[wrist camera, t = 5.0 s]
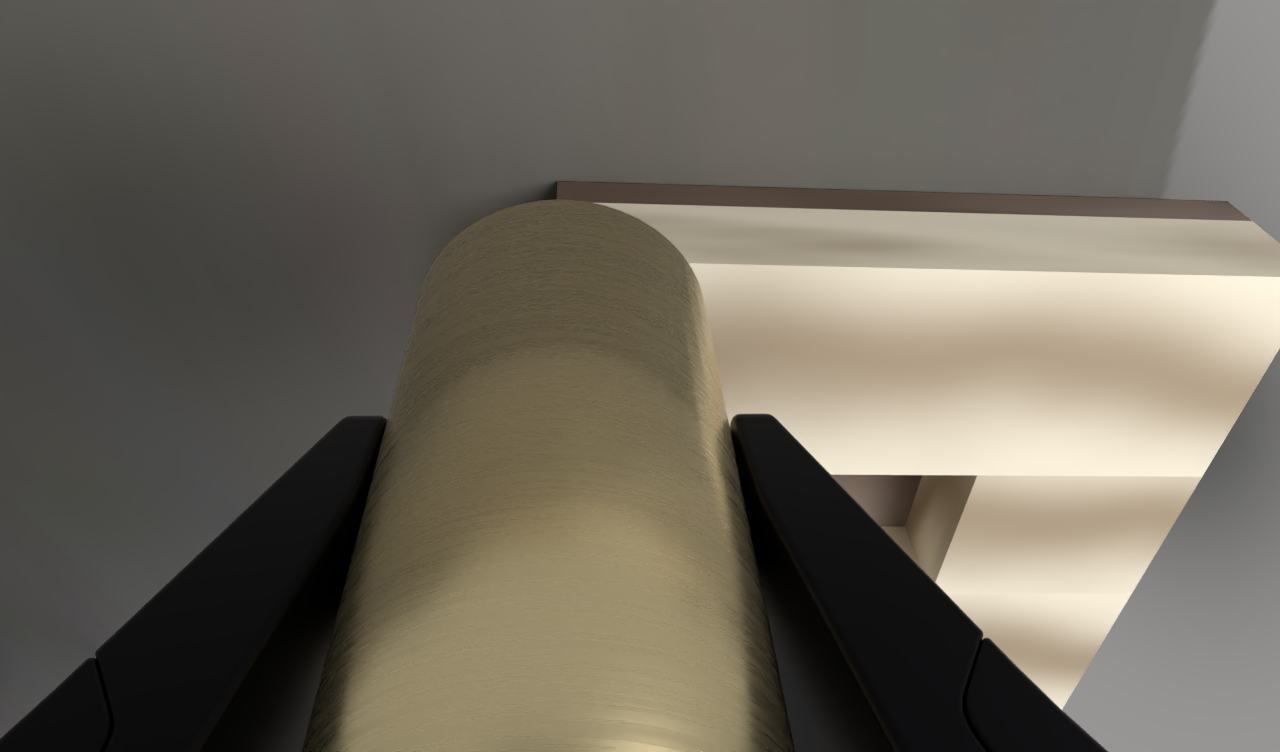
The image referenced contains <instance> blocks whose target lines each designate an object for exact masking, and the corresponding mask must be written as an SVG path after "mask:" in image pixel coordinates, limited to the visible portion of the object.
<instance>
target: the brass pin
mask: <svg viewBox="0 0 1280 752" xmlns="http://www.w3.org/2000/svg"><path fill="white" fill-rule="evenodd" d="M302 752H795V748H794V743H793V738H792V733H791V729H790V724H789V719H788V714H787V709H786V704H785V699H784V694H783V689H782V684H781V679H780V674H779V669H778V664H777V659H776V654H775V649H774V644H773V639H772V634H771V629H770V624H769V619H768V614H767V609H766V604H765V599H764V595H763V590H762V585H761V580H760V575H759V570H758V565H757V560H756V555H755V550H754V545H753V540H752V535H751V530H750V525H749V520H748V515H747V510H746V505H745V500H744V495H743V490H742V485H741V480H740V475H739V470H738V465H737V461H736V456H735V451H734V446H733V441H732V436H731V431H730V426H729V421H728V416H727V411H726V406H725V401H724V396H723V391H722V386H721V381H720V376H719V371H718V366H717V361H716V356H715V351H714V346H713V341H712V336H711V331H710V327H709V322H708V317H707V312H706V307H705V302H704V298H703V294H702V291H701V288H700V284H699V282H698V280H697V278H696V276H695V274H694V272H693V270H692V268H691V266H690V265H689V263H688V262H687V261H686V259H685V258H684V256H683V255H682V254H681V252H680V251H679V250H678V249H677V248H676V247H675V246H674V245H673V244H672V243H671V242H670V241H669V240H668V239H667V238H666V237H664V236H663V235H662V234H661V233H660V232H658V231H657V230H656V229H654V228H653V227H651V226H650V225H648V224H646V223H645V222H643V221H642V220H640V219H638V218H636V217H634V216H632V215H629V214H627V213H625V212H623V211H620V210H617V209H614V208H611V207H608V206H605V205H601V204H596V203H591V202H585V201H577V200H562V199H559V200H540V201H534V202H528V203H523V204H518V205H515V206H511V207H508V208H505V209H502V210H499V211H497V212H494V213H492V214H490V215H488V216H485V217H483V218H481V219H480V220H478V221H476V222H475V223H473V224H472V225H470V226H468V227H467V228H465V229H464V230H463V231H462V232H460V233H459V234H458V235H457V236H456V237H454V238H453V239H452V240H451V241H450V242H449V243H448V244H447V245H446V247H445V248H444V249H443V250H442V251H441V252H440V253H439V255H438V256H437V258H436V259H435V261H434V262H433V264H432V265H431V267H430V269H429V271H428V273H427V275H426V277H425V279H424V282H423V285H422V288H421V292H420V296H419V299H418V303H417V307H416V311H415V315H414V319H413V322H412V326H411V330H410V334H409V338H408V342H407V346H406V349H405V353H404V357H403V361H402V365H401V369H400V373H399V377H398V380H397V384H396V388H395V392H394V396H393V400H392V404H391V408H390V411H389V415H388V419H387V423H386V427H385V431H384V435H383V438H382V442H381V446H380V450H379V454H378V458H377V462H376V466H375V469H374V473H373V477H372V481H371V485H370V489H369V493H368V496H367V500H366V504H365V508H364V512H363V516H362V520H361V524H360V527H359V531H358V535H357V539H356V543H355V547H354V551H353V555H352V558H351V562H350V566H349V570H348V574H347V578H346V582H345V585H344V589H343V593H342V597H341V601H340V605H339V609H338V613H337V616H336V620H335V624H334V628H333V632H332V636H331V640H330V643H329V647H328V651H327V655H326V659H325V663H324V667H323V671H322V674H321V678H320V682H319V686H318V690H317V694H316V698H315V702H314V705H313V709H312V713H311V717H310V721H309V725H308V729H307V732H306V736H305V740H304V744H303V748H302Z"/></svg>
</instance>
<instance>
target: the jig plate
mask: <svg viewBox="0 0 1280 752" xmlns="http://www.w3.org/2000/svg"><path fill="white" fill-rule="evenodd" d="M559 199H562V200H577V201H585V202H591V203H596V204H601V205H605V206H608V207H611V208H614V209H617V210H620V211H623V212H625V213H627V214H629V215H632V216H634V217H636V218H638V219H640V220H642V221H643V222H645V223H646V224H648V225H650V226H651V227H653V228H654V229H656V230H657V231H658V232H660V233H661V234H662V235H663V236H664V237H666V238H667V239H668V240H669V241H670V242H671V243H672V244H673V245H674V246H675V247H676V248H677V249H678V250H679V251H680V252H681V254H682V255H683V256H684V258H685V259H686V261H687V262H688V263H689V265H690V266H691V268H692V270H693V272H694V274H695V276H696V278H697V280H698V282H699V284H700V288H701V291H702V294H703V298H704V302H705V307H706V312H707V317H708V322H709V327H710V331H711V336H712V341H713V346H714V351H715V356H716V361H717V366H718V371H719V376H720V381H721V386H722V391H723V396H724V401H725V406H726V411H727V416H728V421H729V426H730V423H731V420H732V418H733V417H734V416H735V415H736V414H770V415H772V416H774V417H775V418H776V419H777V420H778V421H779V422H780V423H781V424H782V425H783V426H784V427H785V428H786V429H787V430H788V431H789V432H790V433H791V434H792V435H793V436H794V437H795V438H796V439H797V440H798V441H799V442H800V443H801V444H802V445H803V447H804V448H805V449H806V450H807V451H808V452H809V453H810V454H811V455H812V456H813V457H814V458H815V459H816V460H817V461H818V462H819V463H820V464H821V465H822V466H823V467H824V468H825V469H826V470H827V471H828V472H829V473H830V474H831V475H832V476H833V477H834V478H835V480H836V481H837V482H838V483H839V484H840V485H841V486H842V487H843V488H844V489H845V490H846V491H847V492H848V493H849V494H850V495H851V496H852V497H853V498H854V499H855V500H856V501H857V502H858V503H859V504H860V505H861V506H862V507H863V508H864V509H865V510H866V511H867V512H868V514H869V515H870V516H871V517H872V518H873V519H874V520H875V521H876V522H877V523H878V524H879V525H880V526H881V527H882V528H883V529H884V530H885V531H886V532H887V533H888V534H889V535H890V536H891V537H892V538H893V539H894V540H895V541H896V542H897V543H898V544H899V545H900V546H901V548H902V549H903V550H904V551H905V552H906V553H907V554H908V555H909V556H910V557H911V558H912V559H913V560H914V561H915V562H916V563H917V564H918V565H919V566H920V567H921V568H922V569H923V570H924V571H925V572H926V573H927V574H928V575H929V576H930V577H931V578H932V579H933V580H934V582H935V583H936V584H937V585H938V586H939V587H940V588H941V589H942V590H943V591H944V592H945V593H946V594H947V595H948V596H949V597H950V598H951V599H952V600H953V601H954V602H955V603H956V604H957V605H958V606H959V607H960V608H961V609H962V610H963V611H964V612H965V613H966V615H967V616H968V617H969V618H970V619H971V620H972V621H973V622H974V623H975V624H976V625H977V626H978V627H979V628H980V629H981V630H982V631H983V634H984V635H983V639H984V638H990V639H991V640H992V641H993V642H994V643H995V644H996V645H997V646H998V647H999V648H1000V649H1001V650H1002V651H1003V652H1004V653H1005V654H1006V655H1007V656H1008V657H1009V658H1010V659H1011V660H1012V661H1013V662H1014V664H1015V665H1016V666H1017V667H1018V668H1019V669H1020V670H1021V671H1023V672H1024V673H1025V674H1026V675H1027V676H1028V677H1029V678H1030V679H1031V680H1032V681H1033V682H1034V683H1035V684H1036V685H1037V686H1038V687H1039V688H1040V689H1041V690H1042V691H1043V692H1044V693H1045V694H1046V695H1047V696H1048V697H1049V698H1050V699H1051V700H1052V701H1053V702H1054V703H1055V704H1056V705H1057V706H1058V707H1059V708H1060V709H1061V710H1062V708H1063V707H1064V705H1065V703H1066V702H1067V700H1068V699H1069V697H1070V695H1071V694H1072V692H1073V690H1074V689H1075V687H1076V685H1077V684H1078V682H1079V680H1080V679H1081V677H1082V675H1083V673H1084V672H1085V670H1086V668H1087V667H1088V665H1089V664H1090V662H1091V660H1092V658H1093V657H1094V655H1095V654H1096V652H1097V650H1098V649H1099V647H1100V645H1101V644H1102V642H1103V640H1104V639H1105V637H1106V635H1107V634H1108V632H1109V630H1110V629H1111V627H1112V625H1113V623H1114V622H1115V621H1116V619H1117V617H1118V616H1119V614H1120V612H1121V611H1122V609H1123V607H1124V606H1125V604H1126V602H1127V601H1128V599H1129V597H1130V596H1131V594H1132V592H1133V591H1134V589H1135V587H1136V586H1137V584H1138V582H1139V581H1140V579H1141V577H1142V575H1143V574H1144V572H1145V571H1146V569H1147V567H1148V566H1149V564H1150V562H1151V561H1152V559H1153V557H1154V556H1155V554H1156V552H1157V551H1158V549H1159V547H1160V546H1161V544H1162V542H1163V541H1164V539H1165V537H1166V536H1167V534H1168V533H1169V531H1170V529H1171V527H1172V526H1173V524H1174V522H1175V521H1176V519H1177V518H1178V516H1179V514H1180V513H1181V511H1182V509H1183V508H1184V506H1185V504H1186V503H1187V501H1188V499H1189V497H1190V496H1191V494H1192V492H1193V491H1194V489H1195V488H1196V486H1197V484H1198V483H1199V481H1200V479H1201V478H1202V476H1203V474H1204V473H1205V471H1206V469H1207V468H1208V466H1209V464H1210V463H1211V461H1212V459H1213V457H1214V456H1215V454H1216V453H1217V451H1218V449H1219V448H1220V446H1221V445H1222V443H1223V441H1224V440H1225V438H1226V436H1227V435H1228V433H1229V431H1230V430H1231V428H1232V426H1233V425H1234V423H1235V421H1236V420H1237V418H1238V416H1239V415H1240V413H1241V411H1242V410H1243V408H1244V406H1245V405H1246V403H1247V401H1248V400H1249V398H1250V396H1251V395H1252V393H1253V391H1254V390H1255V388H1256V386H1257V385H1258V383H1259V381H1260V380H1261V378H1262V376H1263V375H1264V373H1265V371H1266V370H1267V368H1268V367H1269V365H1270V363H1271V362H1272V360H1273V358H1274V356H1275V355H1276V353H1277V352H1278V350H1279V348H1280V244H1279V243H1278V242H1277V241H1276V240H1275V239H1273V238H1272V237H1271V236H1270V235H1268V234H1267V233H1266V232H1265V231H1264V230H1262V229H1261V228H1260V227H1259V226H1257V225H1256V224H1255V223H1254V222H1252V221H1251V220H1250V219H1249V218H1248V217H1246V216H1245V215H1244V214H1243V213H1241V212H1240V211H1239V210H1238V209H1237V208H1235V207H1234V206H1233V205H1231V204H1230V203H1229V202H1228V201H1205V200H1171V199H1138V198H1104V197H1070V196H1037V195H1003V194H969V193H935V192H902V191H868V190H834V189H801V188H767V187H733V186H699V185H666V184H632V183H598V182H565V181H557V200H559ZM983 639H982V640H983Z"/></svg>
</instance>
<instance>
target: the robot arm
mask: <svg viewBox="0 0 1280 752" xmlns="http://www.w3.org/2000/svg"><path fill="white" fill-rule="evenodd" d="M386 423H387V419H386V418H384V417H383V416H348V417H345V418H344V419H342V420H341V421H340V422H338V423H337V424H336V425H335V426H334V427H333V428H332V429H331V430H330V431H329V432H328V433H327V434H326V435H325V436H324V437H323V438H321V439H320V440H319V441H318V442H317V443H316V444H315V445H314V446H313V447H312V448H311V449H310V450H309V451H308V452H307V453H306V454H305V455H303V456H302V457H301V458H300V459H299V460H298V461H297V462H296V463H295V464H294V465H293V466H292V467H291V468H290V469H289V470H288V471H286V472H285V473H284V474H283V475H282V476H281V477H280V478H279V479H278V480H277V481H276V482H275V483H274V484H273V485H272V486H271V487H270V488H268V489H267V490H266V491H265V492H264V493H263V494H262V495H261V496H260V497H259V498H258V499H257V500H256V501H255V502H254V503H253V504H251V505H250V506H249V507H248V508H247V509H246V510H245V511H244V512H243V513H242V514H241V515H240V516H239V517H238V518H237V519H236V520H235V521H233V522H232V523H231V524H230V525H229V526H228V527H227V528H226V529H225V530H224V531H223V532H222V533H221V534H220V535H219V536H218V537H216V538H215V539H214V540H213V541H212V542H211V543H210V544H209V545H208V546H207V547H206V548H205V549H204V550H203V551H202V552H201V553H199V554H198V555H197V556H196V557H195V558H194V559H193V560H192V561H191V562H190V563H189V564H188V565H187V566H186V567H185V568H184V569H183V570H181V571H180V572H179V573H178V574H177V575H176V576H175V577H174V578H173V579H172V580H171V581H170V582H169V583H168V584H167V585H166V586H164V587H163V588H162V589H161V590H160V591H159V592H158V593H157V594H156V595H155V596H154V597H153V598H152V599H151V600H150V601H149V602H148V603H146V604H145V605H144V606H143V607H142V608H141V609H140V610H139V611H138V612H137V613H136V614H135V615H134V616H133V617H132V618H131V619H129V620H128V621H127V622H126V623H125V624H124V625H123V626H122V627H121V628H120V629H119V630H118V631H117V632H116V633H115V634H114V635H113V636H111V637H110V638H109V639H108V640H107V641H106V642H105V643H104V644H103V645H102V646H101V647H100V648H99V649H98V650H97V651H96V654H95V656H96V659H95V658H88V659H87V660H86V661H84V662H83V663H82V664H81V665H80V666H79V667H78V668H77V669H76V670H75V671H74V672H73V673H72V674H71V675H70V676H69V677H67V678H66V679H65V680H64V681H63V682H62V683H61V684H60V685H59V686H58V687H57V688H56V689H55V690H54V691H53V692H51V693H50V694H49V695H48V696H47V697H46V698H45V699H44V700H43V701H41V702H40V703H39V704H38V705H37V706H36V707H35V708H34V709H33V710H31V711H30V712H29V713H28V714H27V715H26V716H25V717H24V718H23V719H22V720H20V721H19V722H18V723H17V724H16V725H15V726H14V727H13V728H12V729H10V730H9V731H8V732H7V733H6V734H5V735H4V736H3V737H2V738H0V752H302V748H303V744H304V740H305V736H306V732H307V729H308V725H309V721H310V717H311V713H312V709H313V705H314V702H315V698H316V694H317V690H318V686H319V682H320V678H321V674H322V671H323V667H324V663H325V659H326V655H327V651H328V647H329V643H330V640H331V636H332V632H333V628H334V624H335V620H336V616H337V613H338V609H339V605H340V601H341V597H342V593H343V589H344V585H345V582H346V578H347V574H348V570H349V566H350V562H351V558H352V555H353V551H354V547H355V543H356V539H357V535H358V531H359V527H360V524H361V520H362V516H363V512H364V508H365V504H366V500H367V496H368V493H369V489H370V485H371V481H372V477H373V473H374V469H375V466H376V462H377V458H378V454H379V450H380V446H381V442H382V438H383V435H384V431H385V427H386ZM730 431H731V436H732V441H733V446H734V451H735V456H736V461H737V465H738V470H739V475H740V480H741V485H742V490H743V495H744V500H745V505H746V510H747V515H748V520H749V525H750V530H751V535H752V540H753V545H754V550H755V555H756V560H757V565H758V570H759V575H760V580H761V585H762V590H763V595H764V599H765V604H766V609H767V614H768V619H769V624H770V629H771V634H772V639H773V644H774V649H775V654H776V659H777V664H778V669H779V674H780V679H781V684H782V689H783V694H784V699H785V704H786V709H787V714H788V719H789V724H790V729H791V733H792V738H793V743H794V748H795V752H1108V751H1107V750H1105V748H1104V747H1102V746H1101V745H1100V744H1099V743H1098V742H1097V741H1096V740H1095V739H1093V738H1092V737H1091V736H1090V735H1089V734H1088V733H1087V732H1086V731H1085V730H1083V729H1082V728H1081V727H1080V726H1079V725H1078V724H1077V723H1076V722H1075V721H1073V720H1072V719H1071V718H1070V717H1069V716H1068V715H1067V714H1066V713H1064V712H1063V711H1062V710H1061V709H1060V708H1059V707H1058V706H1057V705H1056V704H1055V703H1054V702H1053V701H1052V700H1051V699H1050V698H1049V697H1048V696H1047V695H1046V694H1045V693H1044V692H1043V691H1042V690H1041V689H1040V688H1039V687H1038V686H1037V685H1036V684H1035V683H1034V682H1033V681H1032V680H1031V679H1030V678H1029V677H1028V676H1027V675H1026V674H1025V673H1024V672H1023V671H1021V670H1020V669H1019V668H1018V667H1017V666H1016V665H1015V664H1014V662H1013V661H1012V660H1011V659H1010V658H1009V657H1008V656H1007V655H1006V654H1005V653H1004V652H1003V651H1002V650H1001V649H1000V648H999V647H998V646H997V645H996V644H995V643H994V642H993V641H992V640H991V639H990V638H984V639H983V635H984V634H983V631H982V630H981V629H980V628H979V627H978V626H977V625H976V624H975V623H974V622H973V621H972V620H971V619H970V618H969V617H968V616H967V615H966V613H965V612H964V611H963V610H962V609H961V608H960V607H959V606H958V605H957V604H956V603H955V602H954V601H953V600H952V599H951V598H950V597H949V596H948V595H947V594H946V593H945V592H944V591H943V590H942V589H941V588H940V587H939V586H938V585H937V584H936V583H935V582H934V580H933V579H932V578H931V577H930V576H929V575H928V574H927V573H926V572H925V571H924V570H923V569H922V568H921V567H920V566H919V565H918V564H917V563H916V562H915V561H914V560H913V559H912V558H911V557H910V556H909V555H908V554H907V553H906V552H905V551H904V550H903V549H902V548H901V546H900V545H899V544H898V543H897V542H896V541H895V540H894V539H893V538H892V537H891V536H890V535H889V534H888V533H887V532H886V531H885V530H884V529H883V528H882V527H881V526H880V525H879V524H878V523H877V522H876V521H875V520H874V519H873V518H872V517H871V516H870V515H869V514H868V512H867V511H866V510H865V509H864V508H863V507H862V506H861V505H860V504H859V503H858V502H857V501H856V500H855V499H854V498H853V497H852V496H851V495H850V494H849V493H848V492H847V491H846V490H845V489H844V488H843V487H842V486H841V485H840V484H839V483H838V482H837V481H836V480H835V478H834V477H833V476H832V475H831V474H830V473H829V472H828V471H827V470H826V469H825V468H824V467H823V466H822V465H821V464H820V463H819V462H818V461H817V460H816V459H815V458H814V457H813V456H812V455H811V454H810V453H809V452H808V451H807V450H806V449H805V448H804V447H803V445H802V444H801V443H800V442H799V441H798V440H797V439H796V438H795V437H794V436H793V435H792V434H791V433H790V432H789V431H788V430H787V429H786V428H785V427H784V426H783V425H782V424H781V423H780V422H779V421H778V420H777V419H776V418H775V417H774V416H772V415H770V414H736V415H735V416H734V417H733V418H732V420H731V423H730ZM982 639H983V640H982Z"/></svg>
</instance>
